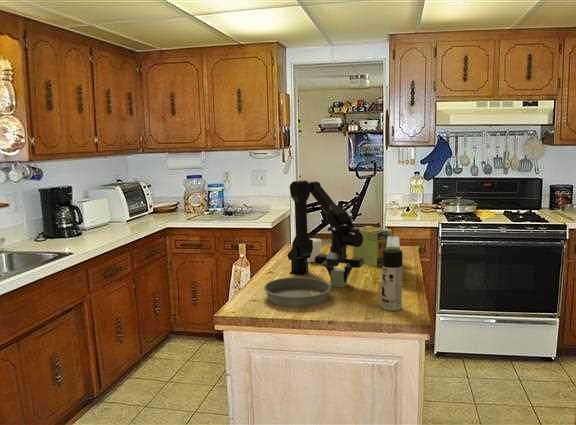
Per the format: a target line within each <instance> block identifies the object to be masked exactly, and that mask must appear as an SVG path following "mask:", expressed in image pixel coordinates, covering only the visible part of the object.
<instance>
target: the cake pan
mask: <svg viewBox="0 0 576 425" xmlns="http://www.w3.org/2000/svg"><path fill="white" fill-rule="evenodd" d="M331 289H332V286H331V283H329V282H327V281H325V280H321V279H319V278H312V277H307V276H306V277H305V276H303V277H302V276H299V277H298V276H293V277H282V278H278V279H277V278H276V279H274V280H271V281H268V282H267V283H266V284H264V286H263V290H264V291H265V293H266V294H267V298H268V301H269V302H271V303H272V304H274V305H277V306H282V307H287V308H306V307H312V306H316V305H320V304H321V303H324V302H325V301H326V299H327V296H328V293H329V292H330V291H331ZM312 291H315V292H318V293H317V294H312V293H311V292H312Z"/></svg>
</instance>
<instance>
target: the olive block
mask: <svg viewBox="0 0 576 425" xmlns="http://www.w3.org/2000/svg"><path fill="white" fill-rule="evenodd" d="M344 276H345V269H344V268H339V267H334V269H333V270H332V271H331V278H330V286H331V287H335V288H336V287H337V288H344V287H345V286H347V285H348V281H347V282H346V283H344Z"/></svg>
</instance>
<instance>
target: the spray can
mask: <svg viewBox="0 0 576 425" xmlns="http://www.w3.org/2000/svg"><path fill="white" fill-rule="evenodd" d="M381 268H382V269H381V308H382V310H384V311H389V312H397V311H400V310H401V309H402V303H403V300H402V298H403V292H402V291H403V251H402V249H400V250H398V249H385V250H383V259H382V265H381Z"/></svg>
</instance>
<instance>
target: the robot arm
mask: <svg viewBox="0 0 576 425" xmlns="http://www.w3.org/2000/svg"><path fill="white" fill-rule="evenodd" d="M289 193H290V198H291V199H292V201H293V202H294V217H295V218H294V221H295V222H294V223H295V237H294V239H293V241H292V243H291V244H292V246H291V249H290V250H289V252H287V259H288V260H290V262H291V263H290V264H291V266H290V268H291V269H290V270H291V271H290V272H289V274H292V275H300V276H303V275H305V274H308V273H309V272H310V270H309V262H307V258H310V256H311V253H312V249H313V241H312V240H310V239H311V238H310V237H309V235H308V209H307V207H308V206H307V202H308V199H309V197H310V195H312V197H313V198H314V200H315V201H317V203H318V204H319V206H320V207H321V208H322V210H323V211H324V213H325V219H326V220H327V222H328V223H329V225H330V226H329V227H328V228H327V231H328V232H331V245H330V246H329V247H330V248H329V252H328V253H321V254H319V255H317V256H316V257H315V259H314V260H315V262H314V264H316V265H317V264H318V265H322V267H324V268H325V269H326V270H327V272H328V274H329V275H328V276H329V277H330V279H331V271H332V270H333V269H335V267H338V266H339V265H340V264H345V266H344V267H343V269H345V276H344V283H346V282H347V283H348V279H349V277H350V274H351V272H352V270H353V269H354V268H355V269H359V268H361V267H363V266H364V265H365V264H364V260H363V258H359V257H353V256H352V258H348V254H347V248H348V246H349V247H352V248H353V247H360V246H361V245H362V243H363V236H362V234H361V233H360V232H359V229H354V228H355V225H354V223H353V222H352V220H351V218H350V214H349V213H348V211H346V210H345V209H344V208H343V207H342V206H339V205H338V204H336V202H334V200H332V198H331V197H330V196H329V194H328V193H327V192H326V191H325V189H324V188H323V187H322V186H321V183H320V182H319V181H308V180H295V181H292V182H291V183H290V185H289Z"/></svg>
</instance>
